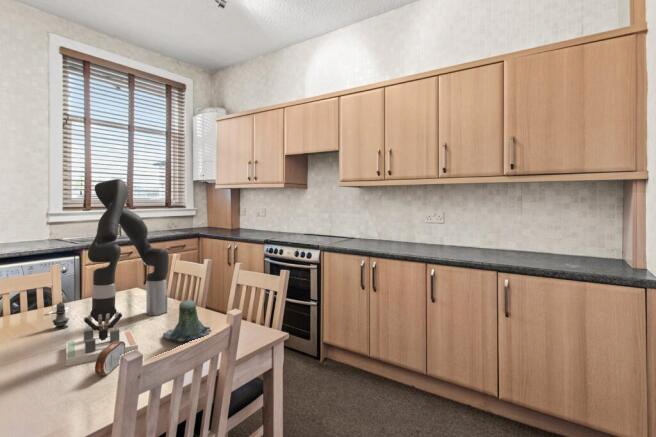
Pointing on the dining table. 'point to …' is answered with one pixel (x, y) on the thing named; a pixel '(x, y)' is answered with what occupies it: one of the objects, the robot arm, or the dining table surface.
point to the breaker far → (88, 334)
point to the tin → (109, 358)
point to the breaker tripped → (114, 335)
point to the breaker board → (77, 348)
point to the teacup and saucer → (56, 310)
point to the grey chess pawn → (60, 317)
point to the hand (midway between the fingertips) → (103, 339)
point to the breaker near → (89, 345)
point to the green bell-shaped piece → (187, 325)
